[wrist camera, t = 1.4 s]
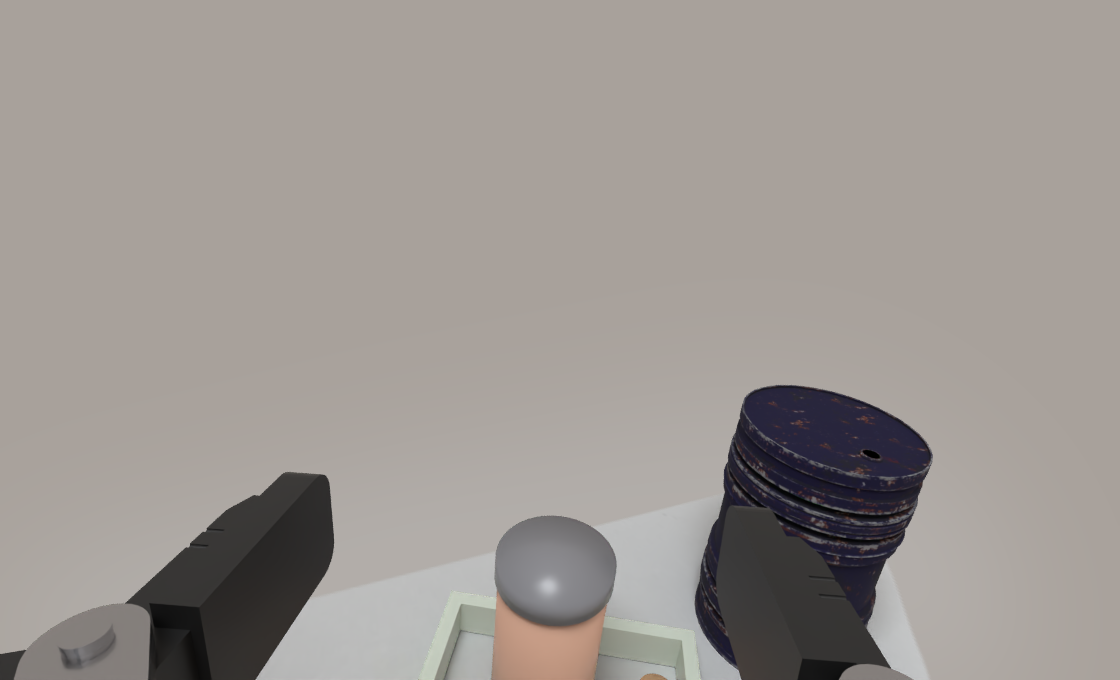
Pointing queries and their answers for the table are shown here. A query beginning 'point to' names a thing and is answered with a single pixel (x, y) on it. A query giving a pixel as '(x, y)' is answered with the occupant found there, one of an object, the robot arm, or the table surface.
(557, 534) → the canister
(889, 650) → the table surface
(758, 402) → the dark blue barrel
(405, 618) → the table surface
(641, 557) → the table surface
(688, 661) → the parts tub
